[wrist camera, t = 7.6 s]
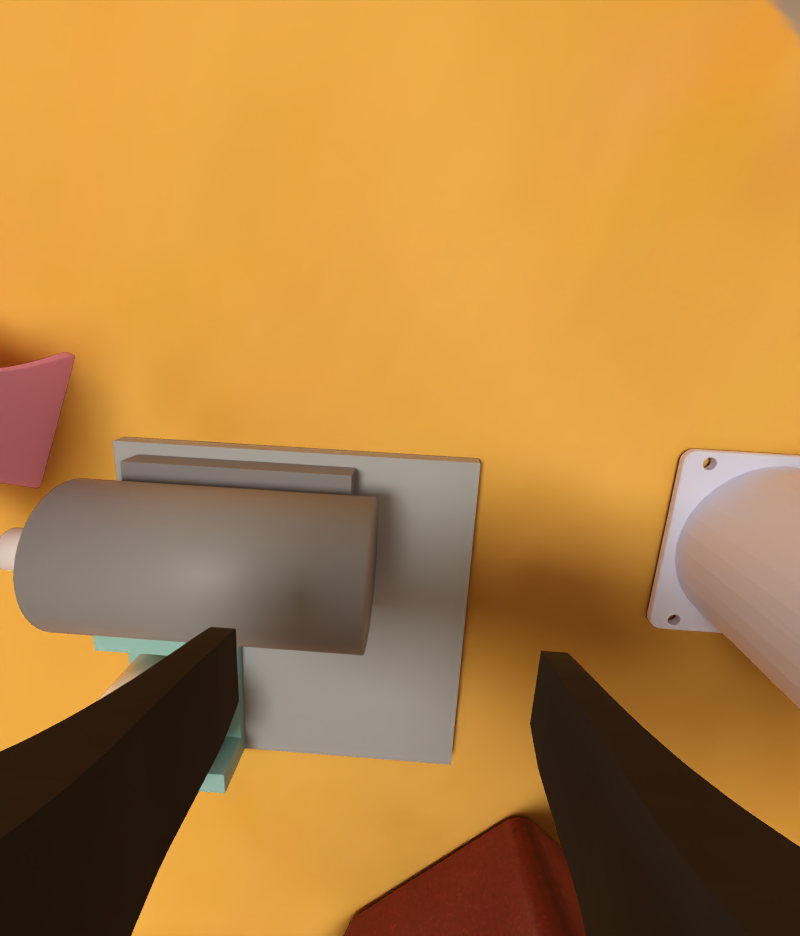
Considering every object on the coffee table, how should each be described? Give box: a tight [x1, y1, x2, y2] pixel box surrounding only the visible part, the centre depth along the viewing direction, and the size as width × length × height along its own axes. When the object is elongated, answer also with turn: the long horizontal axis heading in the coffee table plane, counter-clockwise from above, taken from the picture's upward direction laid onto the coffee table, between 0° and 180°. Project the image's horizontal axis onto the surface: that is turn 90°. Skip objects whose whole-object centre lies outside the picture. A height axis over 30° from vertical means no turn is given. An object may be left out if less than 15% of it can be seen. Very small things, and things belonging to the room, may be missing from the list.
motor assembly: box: [0, 437, 481, 793], centre depth 19 cm, size 17×15×6 cm
